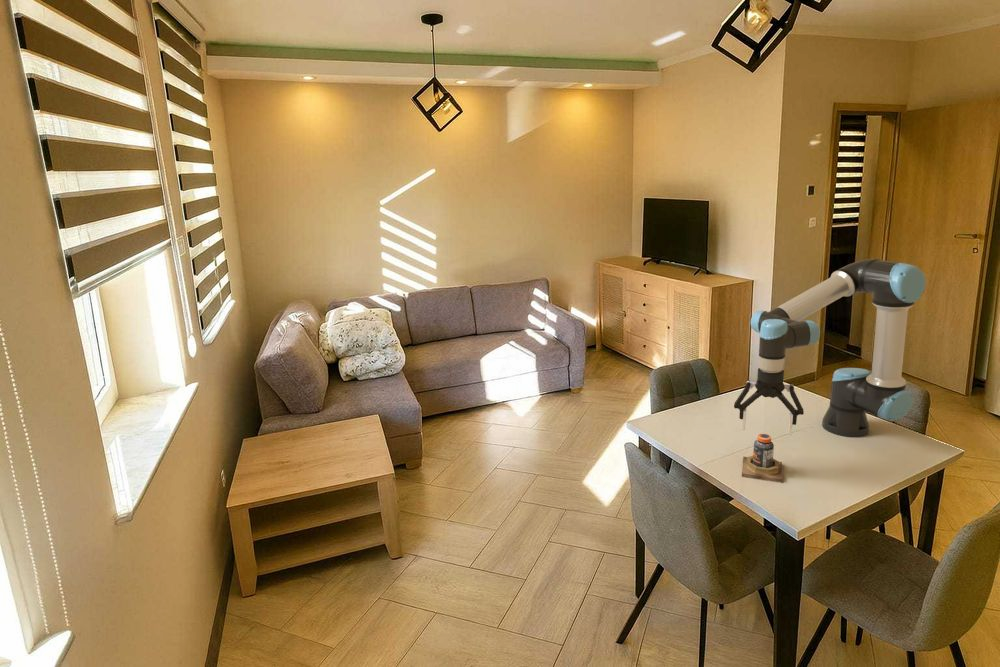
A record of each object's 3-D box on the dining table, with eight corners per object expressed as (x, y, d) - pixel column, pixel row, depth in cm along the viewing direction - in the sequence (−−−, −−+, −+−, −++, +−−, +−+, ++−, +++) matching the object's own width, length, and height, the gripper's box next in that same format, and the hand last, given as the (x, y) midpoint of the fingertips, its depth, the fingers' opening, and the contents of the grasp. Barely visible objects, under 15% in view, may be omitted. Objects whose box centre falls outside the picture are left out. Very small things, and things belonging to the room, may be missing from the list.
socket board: (781, 465, 202) (782, 456, 201) (782, 482, 192) (783, 473, 191) (743, 459, 207) (743, 451, 206) (741, 476, 196) (742, 467, 195)
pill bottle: (749, 463, 202) (751, 432, 198) (766, 461, 202) (769, 431, 198) (757, 472, 196) (759, 441, 193) (775, 470, 196) (778, 439, 193)
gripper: (814, 367, 188) (809, 430, 194) (729, 361, 197) (726, 421, 203) (816, 376, 181) (810, 440, 187) (727, 369, 191) (724, 430, 197)
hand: (766, 430), depth 195 cm, fingers open, 13 cm apart
